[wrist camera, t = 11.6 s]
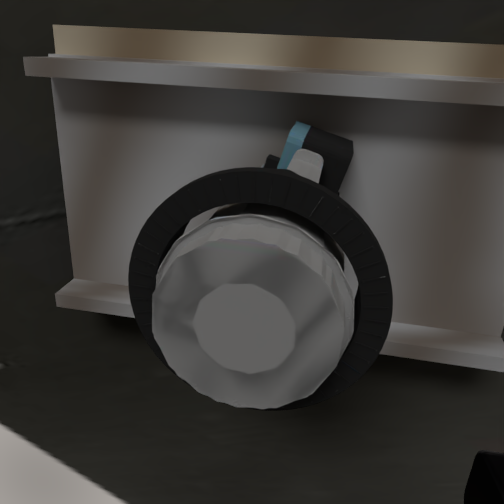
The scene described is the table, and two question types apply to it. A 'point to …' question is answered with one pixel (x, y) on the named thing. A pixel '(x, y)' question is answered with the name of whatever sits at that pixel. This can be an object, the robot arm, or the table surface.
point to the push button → (264, 280)
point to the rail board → (273, 142)
